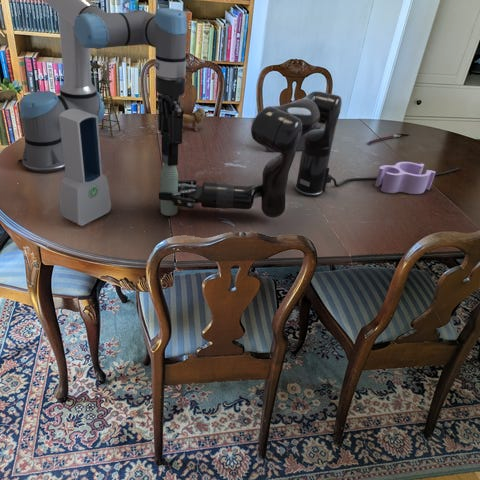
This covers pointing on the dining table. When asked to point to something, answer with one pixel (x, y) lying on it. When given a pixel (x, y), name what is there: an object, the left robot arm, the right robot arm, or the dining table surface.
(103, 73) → the miniature windmill
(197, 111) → the lion figurine
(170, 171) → the bottle
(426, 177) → the clip
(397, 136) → the sword
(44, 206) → the dining table surface
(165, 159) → the cap
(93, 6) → the left robot arm
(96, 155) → the electronic device
